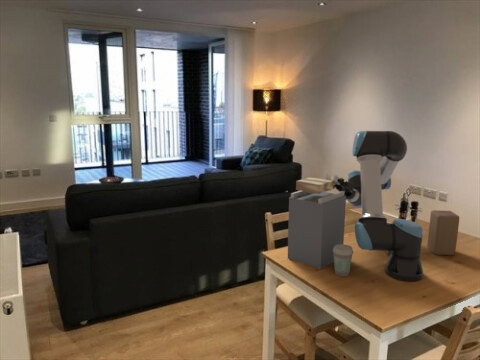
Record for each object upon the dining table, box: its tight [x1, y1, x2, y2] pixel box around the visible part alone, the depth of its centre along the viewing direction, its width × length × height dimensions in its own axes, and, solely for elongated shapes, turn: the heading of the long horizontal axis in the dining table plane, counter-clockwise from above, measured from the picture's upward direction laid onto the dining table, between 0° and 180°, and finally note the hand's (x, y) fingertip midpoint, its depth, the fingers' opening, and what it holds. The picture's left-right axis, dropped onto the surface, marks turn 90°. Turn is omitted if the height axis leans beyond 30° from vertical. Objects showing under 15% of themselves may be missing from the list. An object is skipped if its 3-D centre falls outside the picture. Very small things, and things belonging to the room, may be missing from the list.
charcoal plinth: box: [287, 190, 347, 270], centre depth 179 cm, size 20×18×32 cm
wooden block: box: [426, 209, 460, 256], centre depth 186 cm, size 10×10×20 cm
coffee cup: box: [333, 243, 354, 277], centre depth 164 cm, size 8×8×12 cm
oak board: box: [295, 176, 344, 194], centre depth 178 cm, size 28×12×4 cm, turn 136°
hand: (329, 176), depth 182 cm, fingers closed on oak board, 4 cm apart
